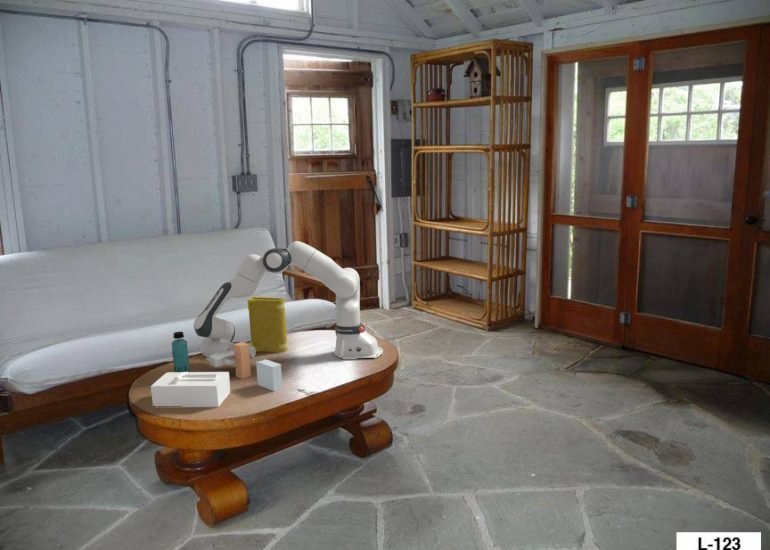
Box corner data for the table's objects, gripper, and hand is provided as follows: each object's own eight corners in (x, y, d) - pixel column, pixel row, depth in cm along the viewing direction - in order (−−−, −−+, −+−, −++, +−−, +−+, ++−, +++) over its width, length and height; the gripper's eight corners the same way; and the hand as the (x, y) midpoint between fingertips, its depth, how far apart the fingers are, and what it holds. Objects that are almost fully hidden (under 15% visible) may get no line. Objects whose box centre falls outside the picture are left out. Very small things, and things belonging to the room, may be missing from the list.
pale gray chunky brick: (257, 384, 249) (255, 361, 247) (265, 381, 252) (264, 358, 250) (274, 391, 241) (272, 366, 239) (282, 388, 244) (280, 364, 242)
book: (251, 350, 292) (247, 299, 287) (258, 346, 298) (254, 296, 293) (283, 353, 287) (280, 301, 282) (289, 348, 293) (286, 297, 288)
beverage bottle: (185, 373, 264) (180, 329, 260) (194, 377, 260) (189, 331, 256) (171, 378, 259) (166, 332, 255) (180, 381, 255) (175, 335, 251)
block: (236, 375, 259) (233, 344, 256) (244, 373, 262) (241, 341, 259) (242, 378, 256) (240, 346, 253) (250, 375, 259) (248, 344, 256)
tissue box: (168, 392, 244) (166, 366, 242) (230, 392, 242) (228, 366, 240) (153, 407, 230) (150, 380, 228) (218, 407, 228) (216, 379, 226)
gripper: (202, 352, 258) (220, 358, 249) (244, 340, 273) (262, 346, 263) (204, 366, 259) (222, 373, 250) (245, 353, 274) (263, 360, 265)
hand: (243, 359), depth 257 cm, fingers open, 8 cm apart
